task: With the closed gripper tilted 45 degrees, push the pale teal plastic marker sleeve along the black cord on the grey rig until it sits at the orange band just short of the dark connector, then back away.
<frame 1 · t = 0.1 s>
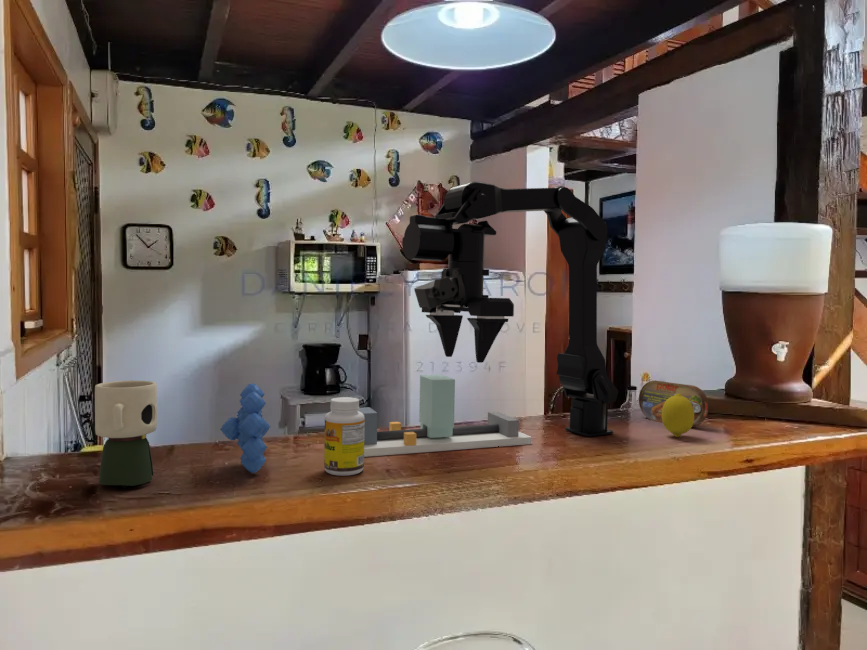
hand: (463, 359, 100), 15 cm above the counter, tool pointing down, fingers open, 9 cm apart
lemon: (677, 438, 112), on the counter
sleeve: (436, 405, 104), point 6 cm above the counter, slide at -3.5 cm
character mug: (126, 485, 79), on the counter
tin: (672, 424, 125), on the counter
supplement bottle: (344, 472, 87), on the counter
grapes: (245, 470, 87), on the counter
cord rig: (416, 444, 103), on the counter
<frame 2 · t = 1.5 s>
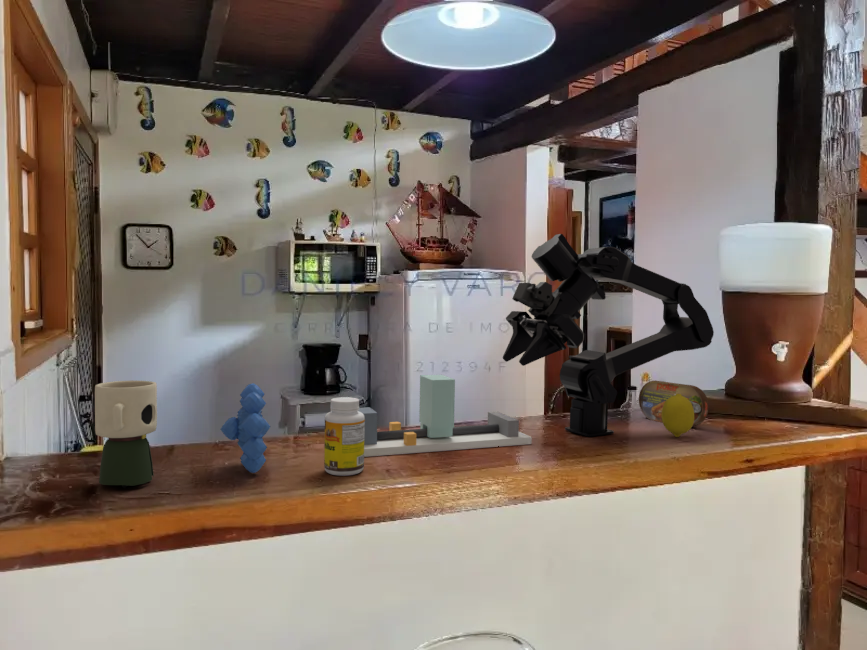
hand: (512, 361, 108), 14 cm above the counter, tool tilted 45°, fingers open, 6 cm apart
nothing on the counter moved.
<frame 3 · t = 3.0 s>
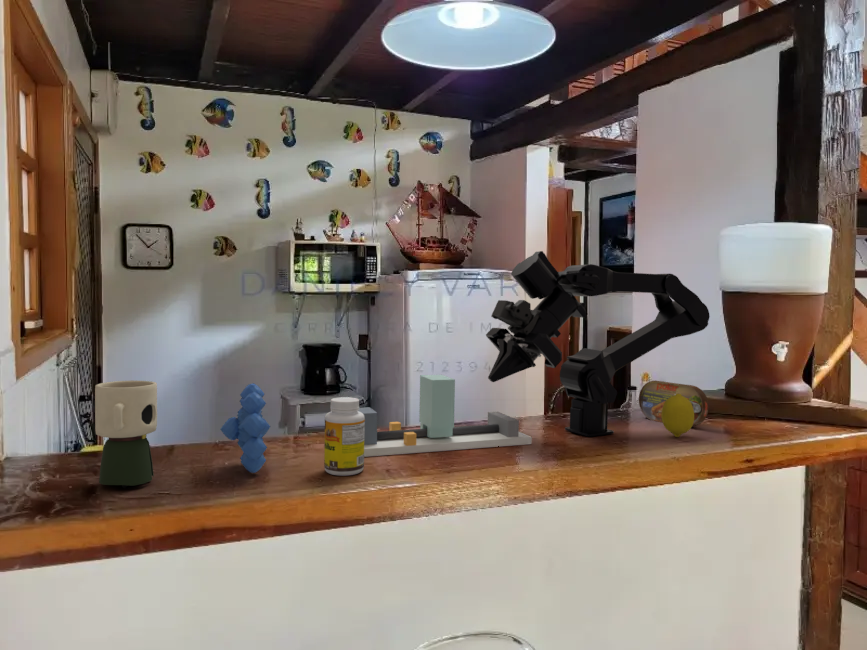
hand: (490, 380, 107), 10 cm above the counter, tool tilted 45°, fingers closed
nothing on the counter moved.
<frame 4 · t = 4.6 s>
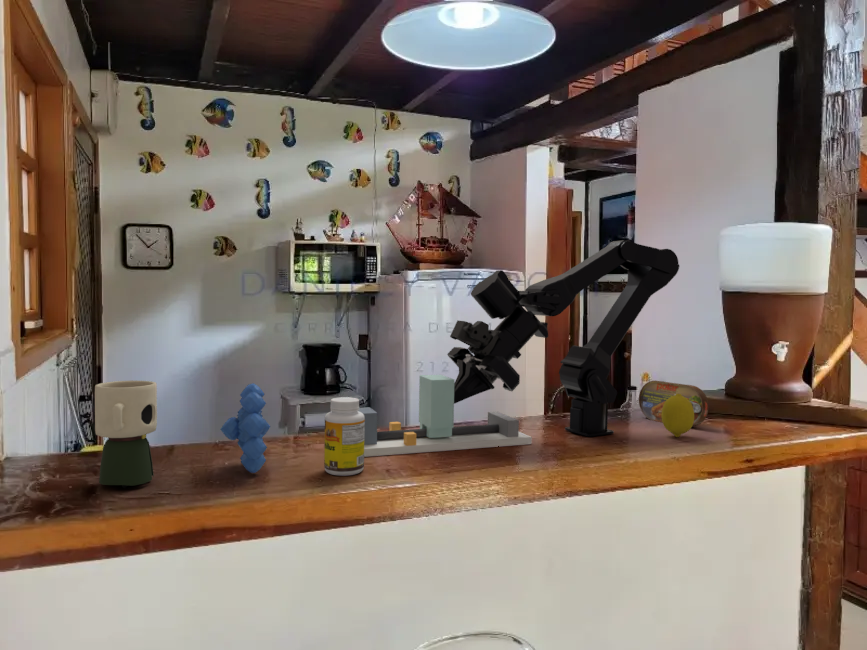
hand: (448, 402, 104), 7 cm above the counter, tool tilted 45°, fingers closed, pressing on sleeve
sleeve: (436, 405, 104), point 6 cm above the counter, slide at -3.4 cm, touching gripper
everything else where it was.
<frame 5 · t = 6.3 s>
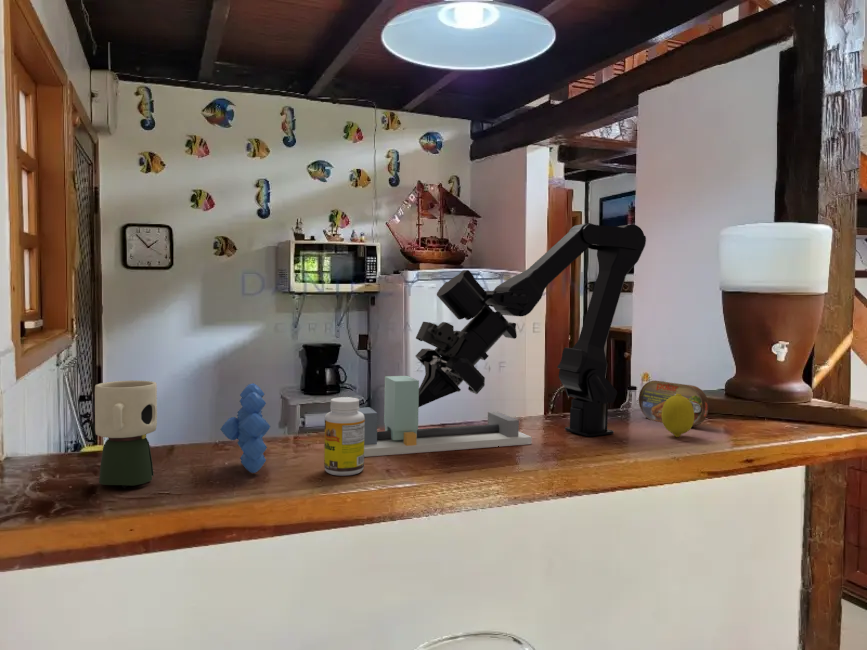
hand: (414, 405, 102), 7 cm above the counter, tool tilted 45°, fingers closed, pressing on sleeve
sleeve: (401, 407, 102), point 6 cm above the counter, slide at 2.8 cm, touching gripper
everything else where it was.
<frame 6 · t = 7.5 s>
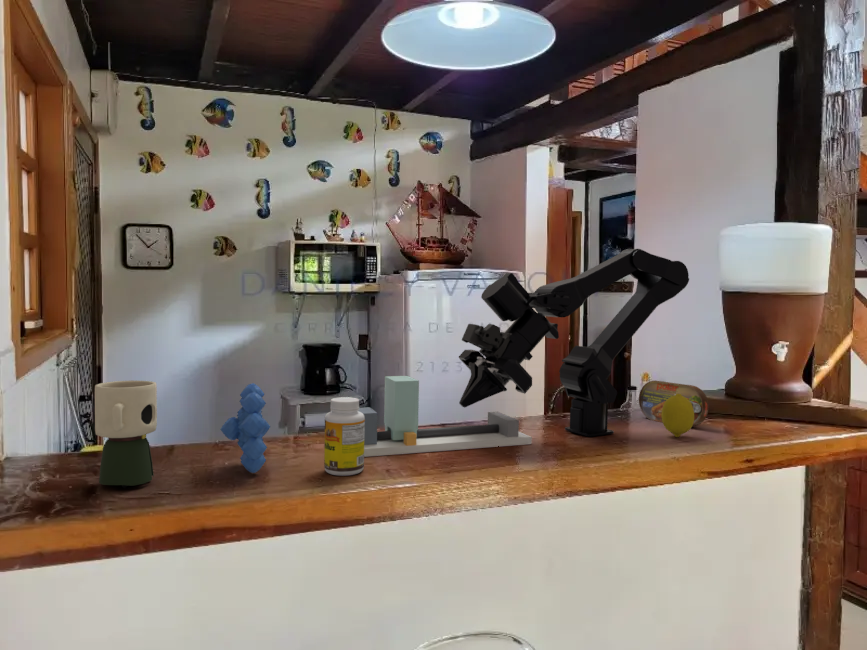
hand: (461, 405, 105), 6 cm above the counter, tool tilted 45°, fingers closed
sleeve: (401, 407, 102), point 6 cm above the counter, slide at 2.8 cm
everything else where it was.
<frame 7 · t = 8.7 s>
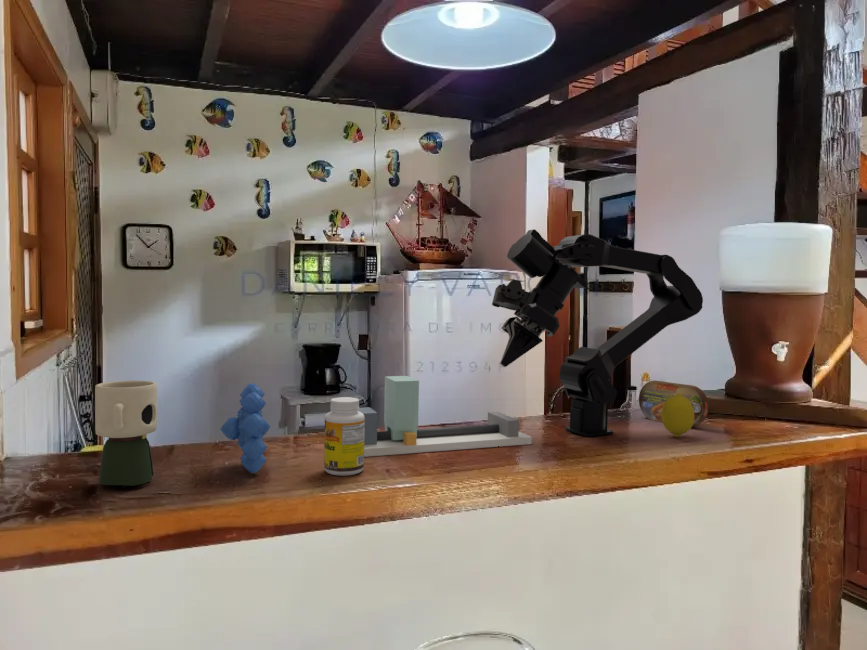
hand: (502, 365, 108), 13 cm above the counter, tool tilted 35°, fingers closed
nothing on the counter moved.
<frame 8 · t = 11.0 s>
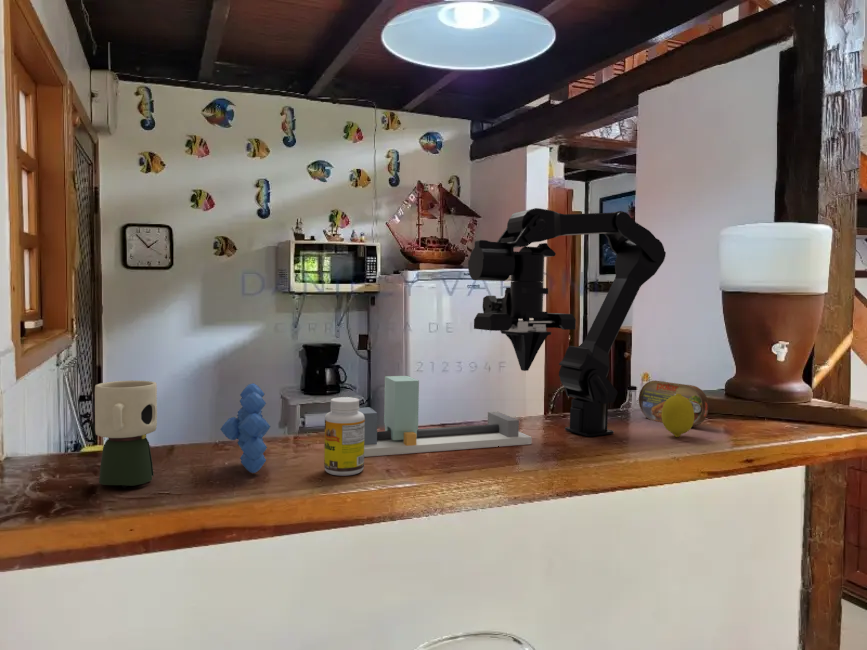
hand: (524, 370, 109), 12 cm above the counter, tool pointing down, fingers closed
nothing on the counter moved.
at the end: sleeve slide at 2.8 cm; supplement bottle moved 0.2 cm from its start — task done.
